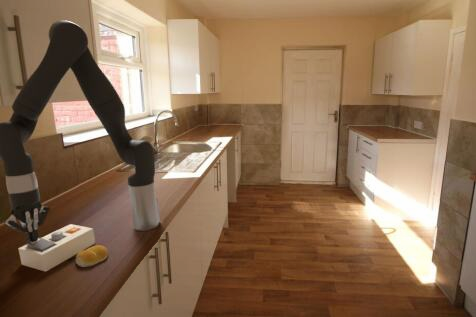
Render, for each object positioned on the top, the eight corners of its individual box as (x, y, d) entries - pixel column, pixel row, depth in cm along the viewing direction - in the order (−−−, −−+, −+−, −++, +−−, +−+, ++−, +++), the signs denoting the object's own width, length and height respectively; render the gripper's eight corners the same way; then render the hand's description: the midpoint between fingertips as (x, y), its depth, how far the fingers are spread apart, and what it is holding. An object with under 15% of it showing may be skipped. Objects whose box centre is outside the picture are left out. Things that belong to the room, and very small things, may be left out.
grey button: (59, 237, 102) (58, 230, 101) (66, 238, 101) (64, 232, 100) (50, 241, 99) (48, 235, 98) (57, 243, 98) (55, 236, 97)
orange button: (74, 233, 107) (73, 227, 106) (81, 235, 106) (80, 228, 105) (66, 237, 104) (65, 231, 104) (72, 239, 103) (71, 232, 102)
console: (73, 238, 111) (70, 224, 110) (95, 243, 107) (92, 228, 105) (21, 264, 95) (18, 248, 94) (45, 271, 91) (42, 254, 89)
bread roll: (113, 256, 98) (111, 245, 97) (85, 270, 91) (83, 258, 90) (98, 249, 102) (97, 238, 102) (71, 262, 95) (69, 250, 94)
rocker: (39, 240, 98) (39, 237, 98) (55, 246, 95) (54, 242, 95) (27, 246, 94) (26, 242, 94) (42, 253, 92) (42, 249, 91)
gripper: (36, 180, 99) (45, 230, 103) (-10, 193, 87) (2, 249, 91) (52, 183, 96) (61, 234, 100) (7, 196, 84) (18, 254, 88)
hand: (33, 241), depth 96 cm, fingers closed
